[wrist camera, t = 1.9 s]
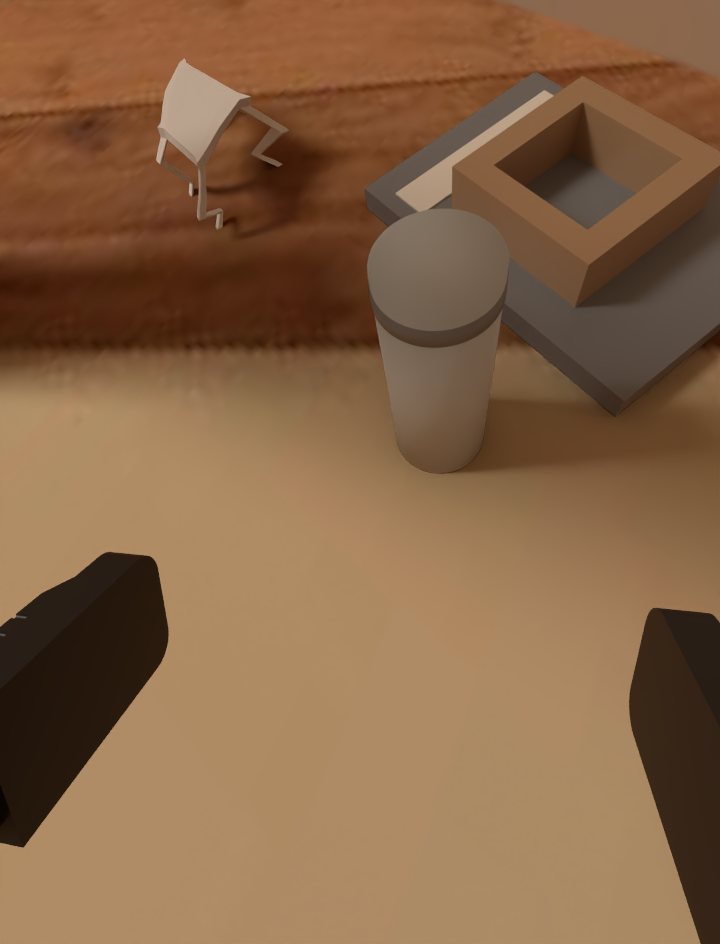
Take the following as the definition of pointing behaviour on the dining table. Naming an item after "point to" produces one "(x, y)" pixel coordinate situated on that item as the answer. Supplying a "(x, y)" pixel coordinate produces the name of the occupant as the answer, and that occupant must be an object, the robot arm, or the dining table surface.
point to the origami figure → (205, 125)
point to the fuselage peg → (439, 330)
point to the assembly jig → (583, 227)
